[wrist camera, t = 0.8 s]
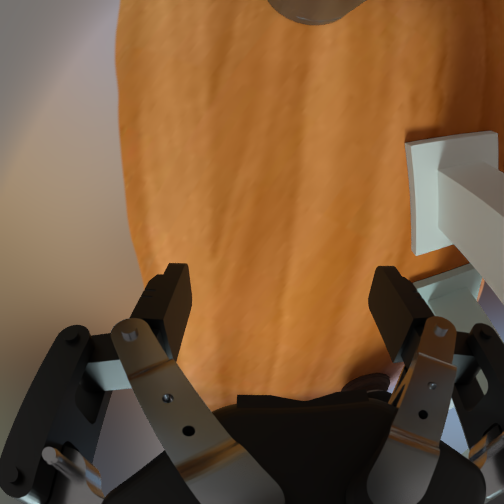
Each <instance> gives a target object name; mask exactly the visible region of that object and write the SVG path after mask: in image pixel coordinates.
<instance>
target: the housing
mask: <svg viewBox="0 0 504 504" xmlns="http://www.w3.org/2000/svg"><path fill="white" fill-rule="evenodd" d="M484 504H504V492H503V493H501V494H500V495H498V496H496V497H494V498H485V502H484Z"/></svg>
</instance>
